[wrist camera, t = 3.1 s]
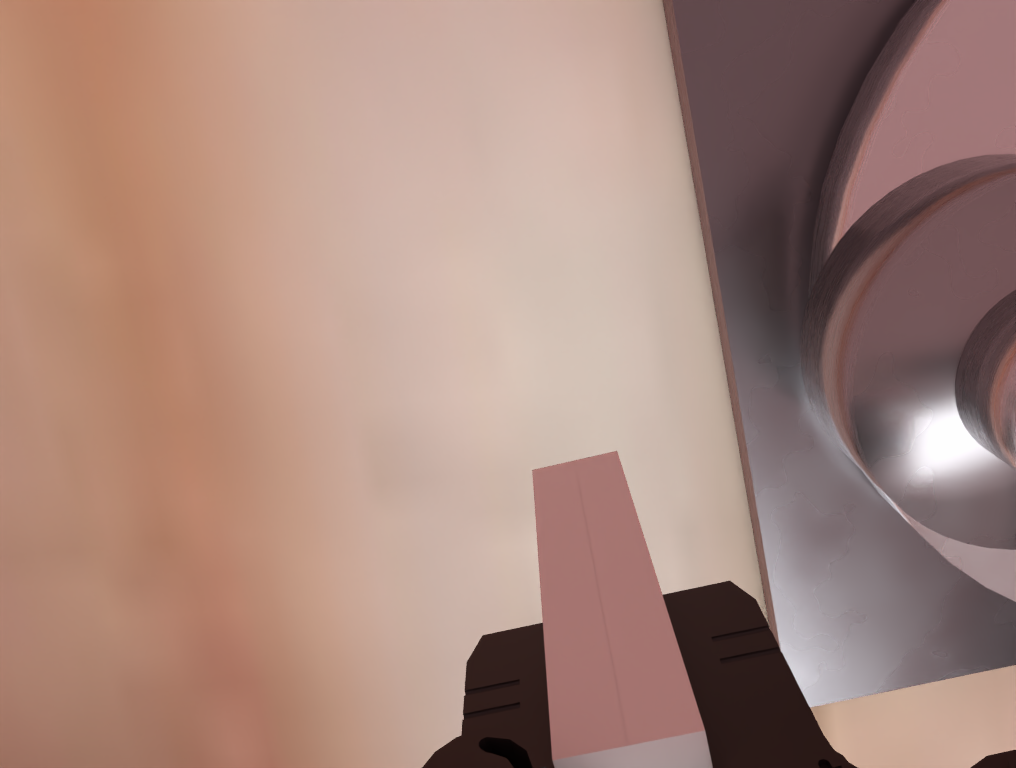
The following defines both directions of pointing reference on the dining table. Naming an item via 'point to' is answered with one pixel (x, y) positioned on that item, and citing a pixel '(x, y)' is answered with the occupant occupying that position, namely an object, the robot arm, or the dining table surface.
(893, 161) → the turntable
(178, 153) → the dining table surface
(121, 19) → the dining table surface
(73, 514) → the dining table surface
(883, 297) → the cover
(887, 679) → the turntable base
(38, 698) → the dining table surface
